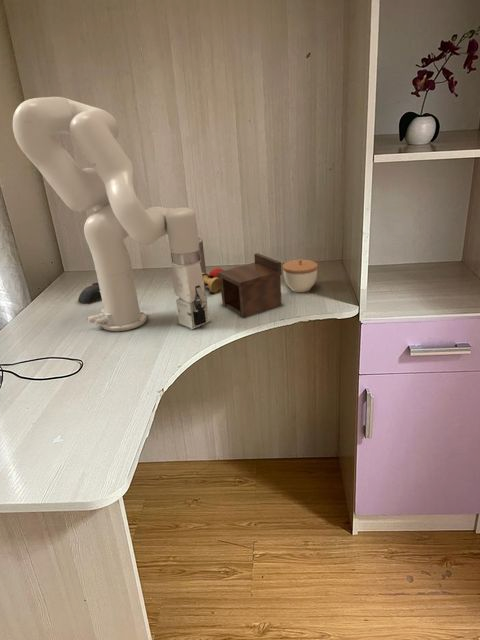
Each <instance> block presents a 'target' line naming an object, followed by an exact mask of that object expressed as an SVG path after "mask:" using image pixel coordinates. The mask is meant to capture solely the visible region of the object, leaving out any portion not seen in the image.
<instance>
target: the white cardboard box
mask: <svg viewBox="0 0 480 640" xmlns="http://www.w3.org/2000/svg"><path fill="white" fill-rule="evenodd" d="M205 298H206V300H207V302H206V305H205V318H206V322H205V323H203V324H200V325H195V323H194V316H193V311H194V308H193V304H192V302H191V303H188V302H186V301H185V300H183V299H181V298H179V297H178V298H177V299H176V300H175V302H176V309H177V317H178V324H179V325H181V326H183V327H186V328H189V329H191V330H194V329H197V328H199V327H201V326H204V325H206V324H208V323H209V322H210V320H209V309H208V299H207V297H205ZM196 299H199V298H198V297H196V298H195V300H196ZM195 303H196V306H197V305H198V304H199V301H198V302H195Z"/></svg>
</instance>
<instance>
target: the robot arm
mask: <svg viewBox="0 0 480 640" xmlns="http://www.w3.org/2000/svg"><path fill="white" fill-rule="evenodd" d="M12 131H13V136H14V139H15V141H16V143H17V145H18V147H19V148H20V150H21V151H22V152H23V154H24V155H25V156H26V158H28V160H29V162H31V163H32V165H33V166H34V167H35V168H36V169H37V170H38V171H39V173H40V174H41V175H42V176H43V178H44V179H45V180H46V182H47V183H48V184H49V186H50V187H51V188H52V190H53V191H54V192H55V193H56V195H58V197H59V198H60V199H61V201H62V202H63V203H64V204H65V205H66V206H67V207H68V208H69V209H70V210H71V211H74V212H81V213H82V212H84V211H87V210H90V209H92V210H93V212H92V213H91V214H89V216H88V217H87V218H86V220H85V222H84V225H83V227H84V228H83V234H84V238H85V240H86V243H87V246H88V248H89V251H90V254H91V256H92V260H93V266H94V269H95V274H96V278H97V283H98V284H99V288H100V293H101V302H102V306H103V308H101V309H100V312H99V313H97V314H96V315H90V316H87V321H88V324H90V325H91V324H96V325H101V327H102V328H103V330H106V331H110V332H123V331H129V330H133V329H136V328H138V327H140V326H142V325H143V324H145V323H146V322H147V319H148V318H147V314H146V312H144V311H142V310H140V309H141V308H140V305H139V299H138V293H137V287H136V282H135V275H134V270H133V265H132V260H131V256H130V253H129V250H128V248H127V246H126V243H125V239H126V238H127V237H130V238H131V239H132V240H133V241H135V242H136V243H138V244H140V245H143V246H148V245H152V244H154V243H155V242H157V241H158V240H159V239H160V238H162V237H164V236H166V235H167V237H168V244H169V251H170V258H171V259H170V260H171V266H172V267H171V268H172V271H171V272H172V283H173V284H172V285H173V292H174V294H175V295H176V296H177V297H178V299H179V298H181V299H183V300H185V301H186V302H188V303H191V302H192V304H193V308H194V311H193V316H194V323H195V325H200V324H203V323H205V322H206V318H205V305H206V302H207V303H208V299H207V300H206V298H207V297H206V291H205V288H204V282H203V276H202V271H201V267H200V262H201V257H200V249H199V240H198V237H199V231H198V224H197V223H198V222H197V216H196V212H195V210H194V209H193V208H191V207H187V206H185V207H184V206H182V207H173V208H172V207H171V208H170V207H165V206H157V205H156V206H151V207H148V208H147V209H145V208H144V205H142V203H141V201H140V200H139V198H138V196H137V193H136V191H135V187H134V172H135V171H134V164H133V163H132V161H131V159H130V158H129V156H128V155H127V153H126V152H125V151H124V149H123V148H122V147H121V145H120V143H119V142H118V141H117V139H118V137H119V133H120V131H119V125H118V122H117V120H116V119H115V117H114V116H113V115H112V114H111V113H110V112H109V111H107V110H104V109H103V108H99V107H95V106H92V105H89V104H86V103H83V102H79V101H77V100H73V99H69V98H67V97H63V96H44V97H34V98H29V99H26V100H24V101H23V102H21V103H19V105H18V106H17V107H16V108H15V111H14V113H13V115H12ZM60 134H66V135H69V136H71V138H72V140H73V142H74V143H75V144H76V146H77V148H78V149H79V150H80V151H81V153H82V155H83V156H84V157H85V158H86V160H87V161H88V163H89V164H90V166H91V167H84V168H81V166H80V165H78V163H77V161H75V160H74V158H73V157H72V156H71V154H70V153H69V152H68V150H67V149H65V148H64V147H63V146H62V145H61V144H60V143H58V142H57V141H56V140H55V139H54V138H53V136H56V135H60ZM196 297H198V298H199V299H196V300H195V298H196ZM198 301H199V304H198V305H197V306H196V303H195V302H198ZM203 325H204V324H203Z"/></svg>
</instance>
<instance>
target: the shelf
mask: <svg viewBox="0 0 480 640" xmlns="http://www.w3.org/2000/svg"><path fill="white" fill-rule="evenodd" d="M253 256H254V262H251V263H247V264H243V265H240V266H236V267H233V268H229V269H225V270H224V269H223V270H224V271H221V272H218V276H219V277H220V285H221V288H220V294H221V303H222V306H223V307H225V308H228V309H230V310H231V311H233V312H234V313H237V314H239V315H240V316H241V317H242V318H247V317H251V316H254V315H256V314H259V313H262V312H265V311H269V310H272V309H275V308H278V307H281V306H282V286H281V285H282V284H281V276H282V274H283V271H282V262H281V261H279V260H277V259H274V258H271V257H269V256H266V255H263V254H261V253H257V252H256V253H254V255H253Z"/></svg>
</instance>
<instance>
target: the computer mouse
mask: <svg viewBox="0 0 480 640" xmlns="http://www.w3.org/2000/svg"><path fill="white" fill-rule="evenodd" d="M100 300H102V298H101V293H100V288H99V284H98V282H94V283H91V284H88V286H87V287H85V288H83V290H82V291H81V293H80V294H79V297H78V299H77V301H78V302H79V303H81V304H91V303H94V302H95V303H96V302H97V301H100Z"/></svg>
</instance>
